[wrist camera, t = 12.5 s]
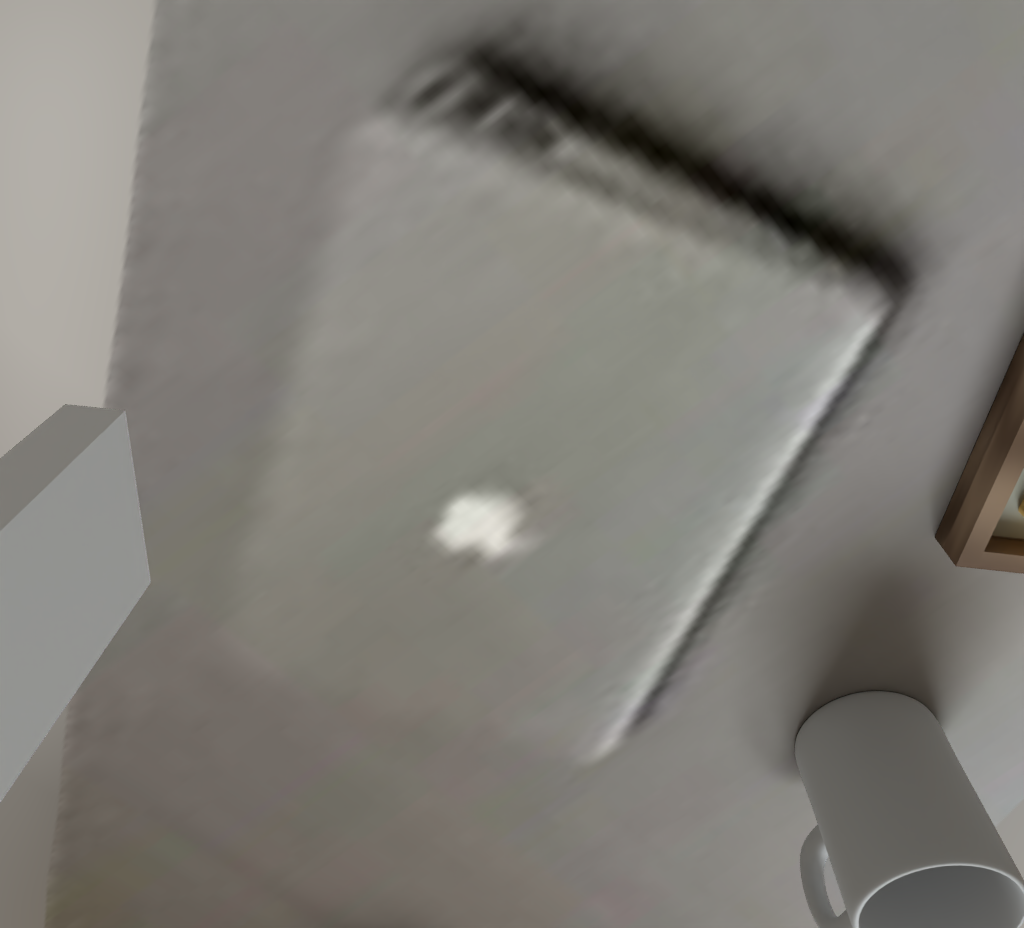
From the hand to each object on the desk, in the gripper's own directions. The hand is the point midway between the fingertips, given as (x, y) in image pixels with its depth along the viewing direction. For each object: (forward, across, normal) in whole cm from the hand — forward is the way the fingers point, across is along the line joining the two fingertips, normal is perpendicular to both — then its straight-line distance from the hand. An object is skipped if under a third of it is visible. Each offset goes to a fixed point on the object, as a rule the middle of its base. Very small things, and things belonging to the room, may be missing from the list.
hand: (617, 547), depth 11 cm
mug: (+27, +22, -32) cm, 47 cm away
